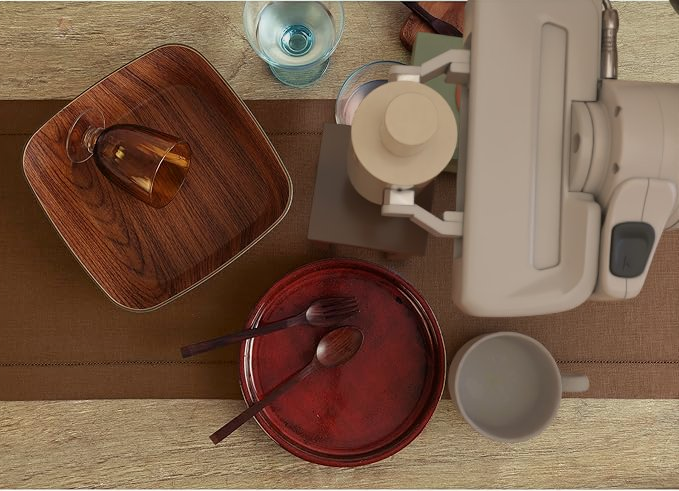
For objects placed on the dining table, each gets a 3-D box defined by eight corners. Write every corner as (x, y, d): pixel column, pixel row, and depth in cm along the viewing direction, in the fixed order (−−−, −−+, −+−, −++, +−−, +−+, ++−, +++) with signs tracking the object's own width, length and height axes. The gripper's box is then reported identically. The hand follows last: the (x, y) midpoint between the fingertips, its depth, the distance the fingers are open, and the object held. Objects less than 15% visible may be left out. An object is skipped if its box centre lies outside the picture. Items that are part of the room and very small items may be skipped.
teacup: (433, 416, 67) (447, 434, 59) (448, 319, 68) (463, 324, 60) (557, 436, 67) (588, 456, 60) (570, 338, 68) (602, 346, 60)
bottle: (346, 121, 43) (353, 59, 31) (431, 122, 43) (470, 62, 31) (346, 205, 43) (352, 175, 31) (430, 206, 43) (470, 177, 31)
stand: (325, 163, 69) (323, 121, 51) (412, 175, 69) (441, 138, 51) (312, 250, 68) (306, 239, 50) (400, 263, 68) (425, 256, 50)
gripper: (646, -39, 34) (400, -55, 34) (635, 327, 33) (381, 313, 33) (596, 10, 40) (389, -3, 40) (586, 319, 39) (372, 307, 39)
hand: (385, 142), depth 37 cm, fingers closed on bottle, 6 cm apart
